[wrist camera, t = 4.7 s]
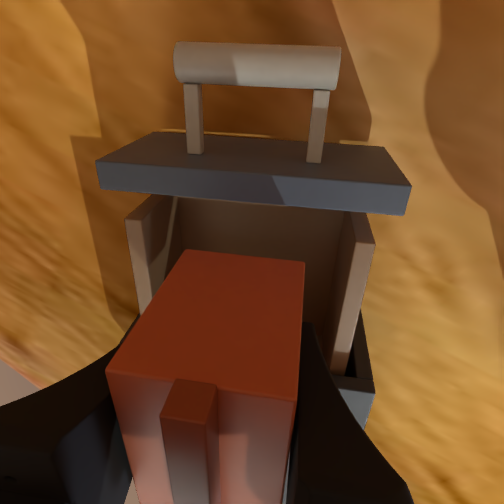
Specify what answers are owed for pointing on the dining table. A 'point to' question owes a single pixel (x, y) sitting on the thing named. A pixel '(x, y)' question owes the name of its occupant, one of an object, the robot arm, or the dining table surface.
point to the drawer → (260, 188)
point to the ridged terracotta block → (212, 381)
